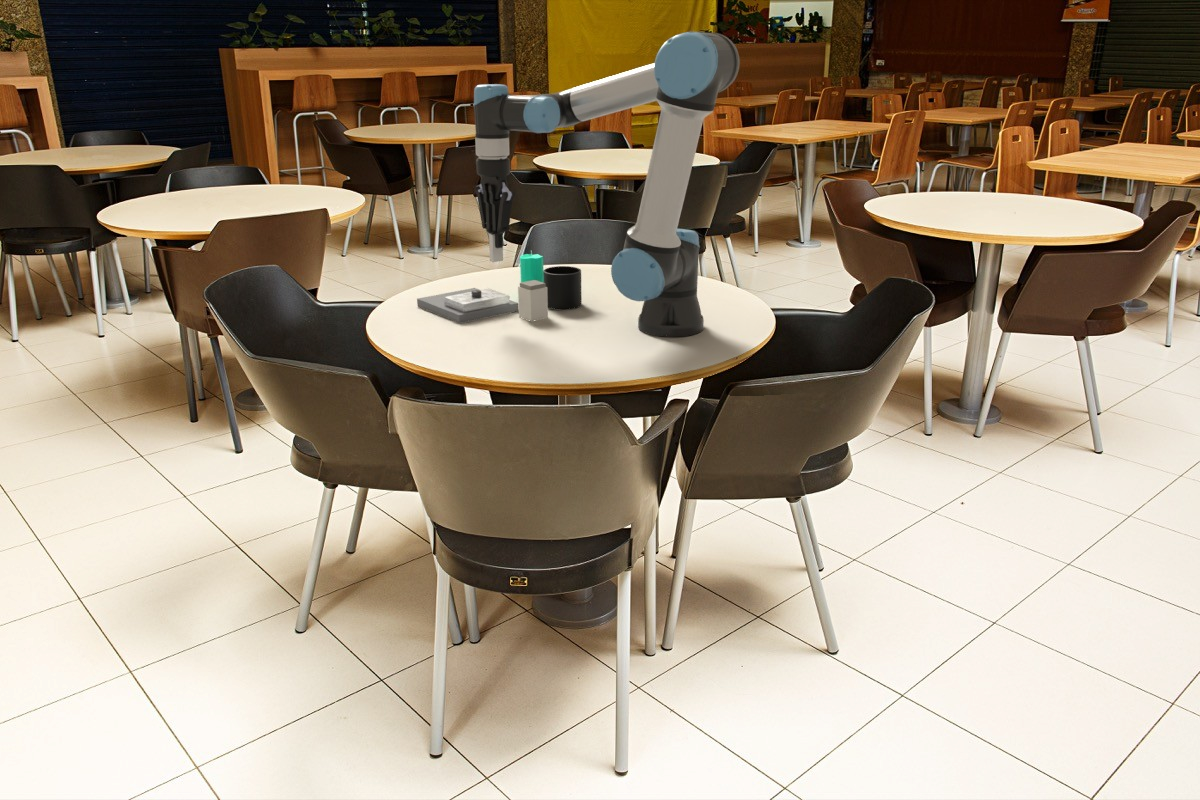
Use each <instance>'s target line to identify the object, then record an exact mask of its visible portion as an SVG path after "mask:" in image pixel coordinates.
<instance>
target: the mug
mask: <svg viewBox="0 0 1200 800" xmlns="http://www.w3.org/2000/svg"><path fill="white" fill-rule="evenodd" d="M543 273H544V283H545V285H546V287H547V295H548V309H550V310H551V309H552V310H555V311H557V310H558V311H566V310H567V311H568V310H569V311H570V310H573V309H577V308H580V307H581V306H582V302H583V301H582V269H581V268H578V267H575V266H568V265H567V266H566V265H563V266H562V265H560V266H559V265H557V266H551V267H548V268H546V267H545V269H543Z"/></svg>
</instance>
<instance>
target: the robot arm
mask: <svg viewBox="0 0 1200 800" xmlns="http://www.w3.org/2000/svg"><path fill="white" fill-rule="evenodd" d="M740 62H741V61H740V56H739V51H738V49H737V47H736V45H735V43H734V42H733V41H732V40H731V39H729V37H727V36H726V35H723V34H721V33H717V32H699V31H686V32H682V33H679V34H676V35H674V36H672V37H670V38H669V39H667V40H666V41H665V42H664V43H663V44H662V46H661V47H660V48H659V50H658V52H657V54H656V55H655V60H654V62H653V63H650V64H646V65H643V66H640V67H636V68H633V69H630V70H628V71H624V72H621V73H618V74H615V75H614V74H613V75H612V76H607V77H605V78H602V79H599V80H594V81H592V82H589V83H585V84H582V85H579V86H576V87H572V88H569V89H566V90H562V91H558V92H554V93H542V94H534V95H533V94H531V95H525V94H524V95H523V94H522V95H521V94H520V95H517V94H516V95H515V94H509V87H508V86H507V85H506V84H498V83H494V84H493V83H492V84H489V83H487V84H486V83H484V84H477V85H476V86H475V87H474V89H473V90H474V91H473V93H474V94H473V111H474V112H473V113H474V125H475V138H474V139H475V140H474V141H475V142H474V143H475V156H477V158H476V161H475V163H476V164H475V165H476V175H478V176H481V178H480V184H479V185H475V186H474V192H475V195H476V198H477V203H478V209H479V215H480V216H479V217H480V220H481V221H480V222H481V227H482V229H485V230H486V232H487V233H488V245H489V247H488V248H489V262H491V263H497V262H498V263H499V262H504V249H503V248H504V233H506V232H507V233H508V232H509V230H510V221H511V213H512V205H513V200H514V198H515V192H514V191H513V190H511V191H510V190H509V188H508V182H507V176H509V175H510V174H511V160H510V158H509V157H508V156H510V132H511V131H512V132H513V131H515V132H526V133H527V132H528V133H535V134H542V133H543V134H544V133H545V134H547V133H552V132H554V131H555V129H558V128H569V127H570V128H571V127H573V126H575V125H578V124H579V123H582V122H586V121H590V120H593V119H596V118H600V117H603V116H607V115H610V114H614V113H617V112H621V111H625V110H629V109H631V108H636V107H640V106H643V105H646V104H650V103H653V102H657V103H658V105H659V107H660V115H659V119H658V123H657V129H656V132H655V133H656V134H655V138H654V142H653V146H652V151H651V155H650V156H651V157H650V159H649V164H648V169H647V173H646V177H645V183H644V187H643V192H642V197H641V200H640V206H639V211H638V214H637V218H636V223H635V224H634V225H633V226H631V227H630V228H627V231H626V235H625V240H624V245H623V249H622V250H620V251H619V252H618V253H617V254H616V255H615V257H614V258H613V260H612V263H611V268H610V271H611V273H610V275H611V278H612V282H613V283H614V285H615V287H616V289H617V291H618V292H620V294H622V295H623V296H624V297H625V298H627V299H629V300H631V301H635V302H643V304H642V308H641V313H640V314H639V316H638V319H637V322H638V325H637V327H638V330H639V331H641V332H642V333H645V334H646V335H647V334H648V335H650V336H651V335H652V336H657V337H665V338H666V337H669V338H674V337H675V338H678V337H679V338H680V337H681V338H682V337H688V336H694V335H697V334H699V333H701V332H702V331H703V330H704V321H705V320H704V316H703V314H702V311H701V306H700V303H699V299H698V280H699V278H698V277H699V259H700V258H699V255H700V253H699V252H700V247H701V246H700V242H699V241H700V239H699V238H700V237H699V234H698V232H697V231H695V230H691V229H684V228H678V226H679V222H680V217H681V213H682V210H683V207H684V206H683V205H684V202H685V197H686V194H687V189H688V185H689V180H690V177H691V173H692V167H693V164H694V161H695V156H696V152H697V148H698V145H699V144H698V143H699V140H700V139H699V138H700V135H701V131H702V126H703V122H704V119H705V118H706V117H708V116H709V115H711V114H712V113H713V112H714V110H715V106H716V101H717V98H718V93H721V92H723V91H725V90H726V89H727V88H728V87H730V86H731V85H732V84H733V82H734V81H735V80H736V78H737V76H738V74H739V73H738V72H739V70H740Z"/></svg>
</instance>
